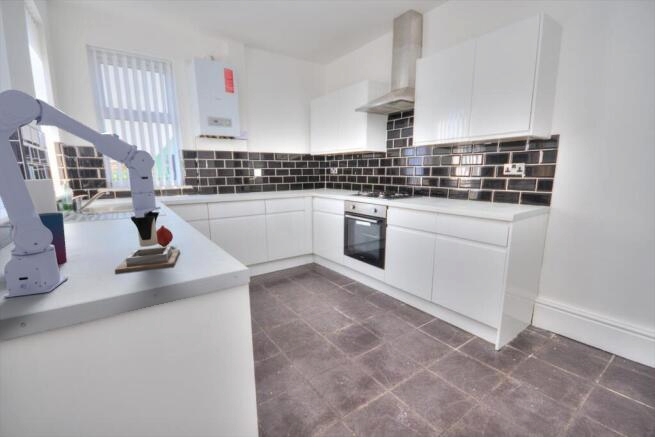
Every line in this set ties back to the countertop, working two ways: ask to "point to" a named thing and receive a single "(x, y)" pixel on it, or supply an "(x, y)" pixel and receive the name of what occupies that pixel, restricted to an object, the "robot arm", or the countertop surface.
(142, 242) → the roll
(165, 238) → the red round fruit
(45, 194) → the cylindrical container
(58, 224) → the cup
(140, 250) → the holder
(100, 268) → the countertop surface
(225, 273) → the countertop surface
